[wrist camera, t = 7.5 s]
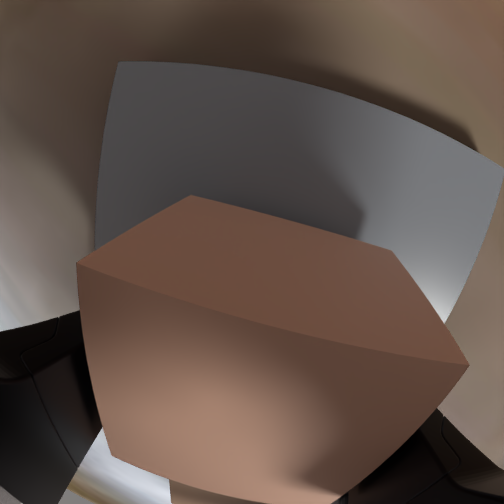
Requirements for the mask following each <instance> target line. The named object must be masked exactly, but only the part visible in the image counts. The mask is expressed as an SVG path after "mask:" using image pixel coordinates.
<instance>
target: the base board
mask: <svg viewBox="0 0 504 504" xmlns="http://www.w3.org/2000/svg"><path fill="white" fill-rule="evenodd" d="M503 178H504V168H502V167H501V166H499V165H498V164H496V163H494V162H493V161H491V160H489V159H488V158H486V157H485V156H483V155H481V154H479V153H478V152H476V151H474V150H472V149H471V148H469V147H467V146H465V145H463V144H462V143H460V142H458V141H456V140H454V139H452V138H450V137H448V136H446V135H444V134H442V133H440V132H438V131H436V130H434V129H432V128H430V127H428V126H426V125H423V124H421V123H419V122H417V121H414V120H412V119H410V118H407V117H405V116H403V115H400V114H398V113H395V112H393V111H390V110H388V109H385V108H383V107H380V106H377V105H375V104H372V103H369V102H366V101H363V100H360V99H357V98H354V97H351V96H348V95H345V94H342V93H339V92H336V91H332V90H329V89H325V88H322V87H318V86H314V85H311V84H307V83H303V82H299V81H295V80H290V79H286V78H282V77H277V76H272V75H267V74H262V73H256V72H251V71H245V70H239V69H232V68H225V67H217V66H209V65H199V64H188V63H174V62H150V61H119V62H118V66H117V69H116V74H115V78H114V82H113V86H112V91H111V96H110V101H109V106H108V111H107V117H106V122H105V128H104V135H103V141H102V149H101V157H100V165H99V175H98V186H97V199H96V217H95V250H97V249H98V248H100V247H102V246H103V245H105V244H106V243H108V242H110V241H111V240H113V239H115V238H116V237H118V236H119V235H121V234H123V233H124V232H126V231H128V230H129V229H131V228H133V227H134V226H136V225H138V224H140V223H141V222H143V221H145V220H146V219H148V218H150V217H152V216H153V215H155V214H157V213H159V212H160V211H162V210H164V209H166V208H168V207H169V206H171V205H173V204H175V203H177V202H179V201H180V200H182V199H184V198H186V197H188V196H190V195H193V196H197V197H201V198H206V199H210V200H214V201H218V202H222V203H226V204H230V205H234V206H237V207H241V208H245V209H249V210H253V211H257V212H261V213H264V214H268V215H272V216H275V217H279V218H283V219H286V220H290V221H294V222H297V223H301V224H304V225H308V226H312V227H315V228H319V229H322V230H325V231H329V232H332V233H336V234H339V235H343V236H346V237H349V238H353V239H356V240H359V241H363V242H366V243H369V244H372V245H376V246H379V247H382V248H385V249H388V250H392V252H393V253H394V254H395V255H396V257H397V258H398V259H399V261H400V262H401V263H402V265H403V266H404V267H405V269H406V270H407V271H408V273H409V274H410V275H411V277H412V278H413V279H414V281H415V282H416V283H417V285H418V286H419V288H420V289H421V290H422V292H423V293H424V295H425V296H426V297H427V299H428V300H429V302H430V303H431V305H432V306H433V308H434V309H435V311H436V312H437V314H438V315H439V317H440V318H441V320H442V321H443V323H445V321H446V320H447V318H448V316H449V314H450V312H451V310H452V309H453V307H454V305H455V303H456V301H457V299H458V297H459V295H460V293H461V291H462V289H463V287H464V285H465V283H466V280H467V278H468V276H469V274H470V272H471V269H472V267H473V265H474V263H475V260H476V258H477V255H478V253H479V250H480V248H481V245H482V243H483V240H484V238H485V235H486V232H487V230H488V227H489V224H490V221H491V218H492V215H493V212H494V209H495V206H496V202H497V199H498V196H499V192H500V189H501V185H502V181H503Z"/></svg>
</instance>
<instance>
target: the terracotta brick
mask: <svg viewBox="0 0 504 504" xmlns="http://www.w3.org/2000/svg"><path fill="white" fill-rule="evenodd" d="M76 266H77V283H78V296H79V307H80V316H81V324H82V331H83V338H84V345H85V351H86V357H87V362H88V368H89V373H90V378H91V382H92V387H93V391H94V396H95V400H96V404H97V408H98V412H99V415H100V419H101V423H102V426H103V430H104V433H105V436H106V439H107V443H108V446H109V449H110V452H111V455H112V456H114V457H116V458H118V459H120V460H122V461H124V462H127V463H129V464H131V465H134V466H136V467H138V468H141V469H143V470H146V471H148V472H151V473H154V474H156V475H159V476H162V477H164V478H167V479H170V480H173V481H176V482H179V483H182V484H185V485H189V486H192V487H195V488H199V489H202V490H206V491H210V492H214V493H218V494H222V495H226V496H230V497H235V498H240V499H245V500H250V501H256V502H262V503H268V504H331V503H333V502H334V501H335V500H337V499H338V498H340V497H341V496H342V495H344V494H345V493H346V492H348V491H349V490H350V489H352V488H353V487H354V486H356V485H357V484H358V483H359V482H361V481H362V480H363V479H364V478H366V477H367V476H368V475H369V474H371V473H372V472H373V471H374V470H375V469H376V468H378V467H379V466H380V465H381V464H382V463H383V462H384V461H386V460H387V459H388V458H389V457H390V456H391V455H392V454H393V453H394V452H395V451H396V450H397V449H398V448H399V447H401V446H402V445H403V444H404V443H405V442H406V441H407V440H408V439H409V438H410V437H411V436H412V435H413V433H414V432H415V431H416V430H417V429H418V428H419V427H420V426H421V425H422V424H423V423H424V422H425V421H426V420H427V418H428V417H429V416H430V415H431V414H432V413H433V412H434V410H435V409H436V408H437V407H438V406H439V405H440V403H441V402H442V401H443V400H444V399H445V397H446V396H447V395H448V394H449V392H450V391H451V390H452V389H453V387H454V386H455V385H456V383H457V382H458V381H459V379H460V378H461V377H462V375H463V374H464V373H465V371H466V370H467V368H468V367H469V363H468V361H467V360H466V358H465V356H464V355H463V353H462V351H461V350H460V348H459V346H458V345H457V343H456V341H455V340H454V338H453V337H452V335H451V333H450V332H449V330H448V329H447V327H446V326H445V324H444V323H443V321H442V320H441V318H440V317H439V315H438V314H437V312H436V311H435V309H434V308H433V306H432V305H431V303H430V302H429V300H428V299H427V297H426V296H425V295H424V293H423V292H422V290H421V289H420V288H419V286H418V285H417V283H416V282H415V281H414V279H413V278H412V277H411V275H410V274H409V273H408V271H407V270H406V269H405V267H404V266H403V265H402V263H401V262H400V261H399V259H398V258H397V257H396V255H395V254H394V253H393V252H392V250H388V249H385V248H382V247H379V246H376V245H372V244H369V243H366V242H363V241H359V240H356V239H353V238H349V237H346V236H343V235H339V234H336V233H332V232H329V231H325V230H322V229H319V228H315V227H312V226H308V225H304V224H301V223H297V222H294V221H290V220H286V219H283V218H279V217H275V216H272V215H268V214H264V213H261V212H257V211H253V210H249V209H245V208H241V207H237V206H234V205H230V204H226V203H222V202H218V201H214V200H210V199H206V198H201V197H197V196H193V195H190V196H188V197H186V198H184V199H182V200H180V201H179V202H177V203H175V204H173V205H171V206H169V207H168V208H166V209H164V210H162V211H160V212H159V213H157V214H155V215H153V216H152V217H150V218H148V219H146V220H145V221H143V222H141V223H140V224H138V225H136V226H134V227H133V228H131V229H129V230H128V231H126V232H124V233H123V234H121V235H119V236H118V237H116V238H115V239H113V240H111V241H110V242H108V243H106V244H105V245H103V246H102V247H100V248H98V249H97V250H95V251H94V252H92V253H91V254H89V255H88V256H86V257H84V258H83V259H81V260H80V261H78V262H77V263H76Z"/></svg>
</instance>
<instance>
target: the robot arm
mask: <svg viewBox="0 0 504 504" xmlns="http://www.w3.org/2000/svg"><path fill="white" fill-rule="evenodd" d="M102 427H103V426H102V423H101V419H100V415H99V412H98V408H97V404H96V400H95V396H94V391H93V387H92V382H91V378H90V373H89V368H88V362H87V357H86V351H85V345H84V338H83V331H82V324H81V316H80V310H79V311H76V312H72V313H69V314H66V315H63V316H60V317H59V318H58V317H56V318H53V319H50V320H46V321H43V322H39V323H36V324H32V325H28V326H24V327H19V328H15V329H10V330H5V331H1V332H0V504H21V503H22V504H58V502H59V501H60V499H61V497H62V495H63V494H64V492H65V490H66V488H67V487H68V485H69V483H70V481H71V480H72V478H73V476H74V474H75V473H76V471H77V469H78V467H79V466H80V464H81V462H82V460H83V459H84V457H85V455H86V454H87V452H88V450H89V449H90V447H91V445H92V444H93V442H94V440H95V439H96V437H97V435H98V434H99V432H100V430H101V429H102ZM331 504H504V470H503V469H501V468H499V467H498V466H497V465H495V464H494V463H493V462H492V461H491V460H490V459H489V458H488V457H486V456H485V455H484V454H483V453H482V452H481V451H480V450H479V449H478V448H477V447H475V446H474V445H473V444H472V443H471V442H470V441H469V440H468V439H467V438H466V437H465V436H464V435H462V434H461V433H460V432H459V431H458V429H457V428H456V427H455V426H454V425H453V424H452V423H451V422H450V421H449V420H448V419H447V418H446V417H445V416H444V417H443V414H442V413H441V412H440V411H439V410H438V409H437V408H436V409H435V410H434V412H433V413H432V414H431V415H430V416H429V417H428V418H427V420H426V421H425V422H424V423H423V424H422V425H421V426H420V427H419V428H418V429H417V430H416V431H415V432H414V433H413V435H412V436H411V437H410V438H409V439H408V440H407V441H406V442H405V443H404V444H403V445H402V446H401V447H399V448H398V449H397V450H396V451H395V452H394V453H393V454H392V455H391V456H390V457H389V458H388V459H387V460H386V461H384V462H383V463H382V464H381V465H380V466H379V467H378V468H376V469H375V470H374V471H373V472H372V473H371V474H369V475H368V476H367V477H366V478H364V479H363V480H362V481H361V482H359V483H358V484H357V485H356V486H354V487H353V488H352V489H350V490H349V491H348V492H346V493H345V494H344V495H342V496H341V497H340V498H338V499H337V500H335V501H334V502H333V503H331Z"/></svg>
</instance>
